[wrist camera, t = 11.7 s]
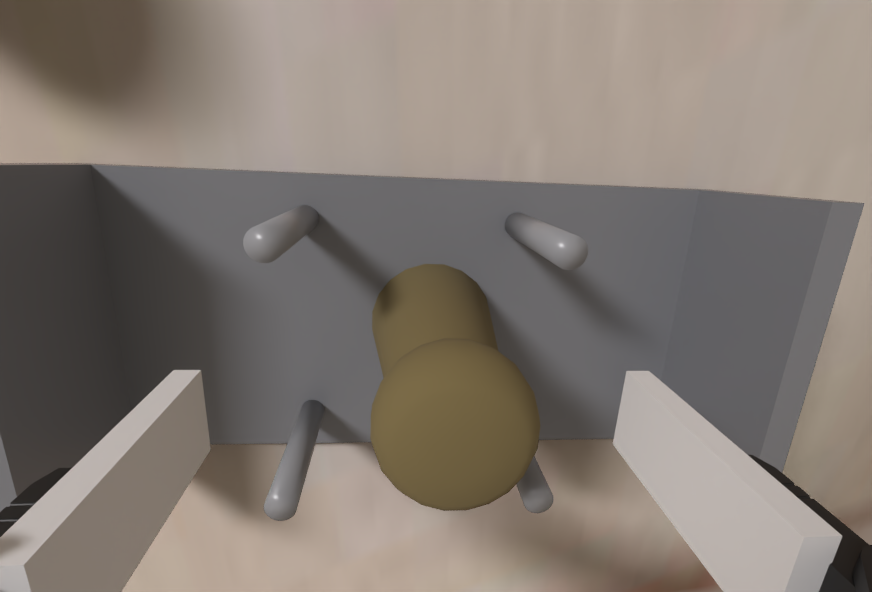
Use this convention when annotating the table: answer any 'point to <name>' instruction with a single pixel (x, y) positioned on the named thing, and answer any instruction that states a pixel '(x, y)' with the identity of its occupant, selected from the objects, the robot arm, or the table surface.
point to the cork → (447, 393)
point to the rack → (366, 277)
